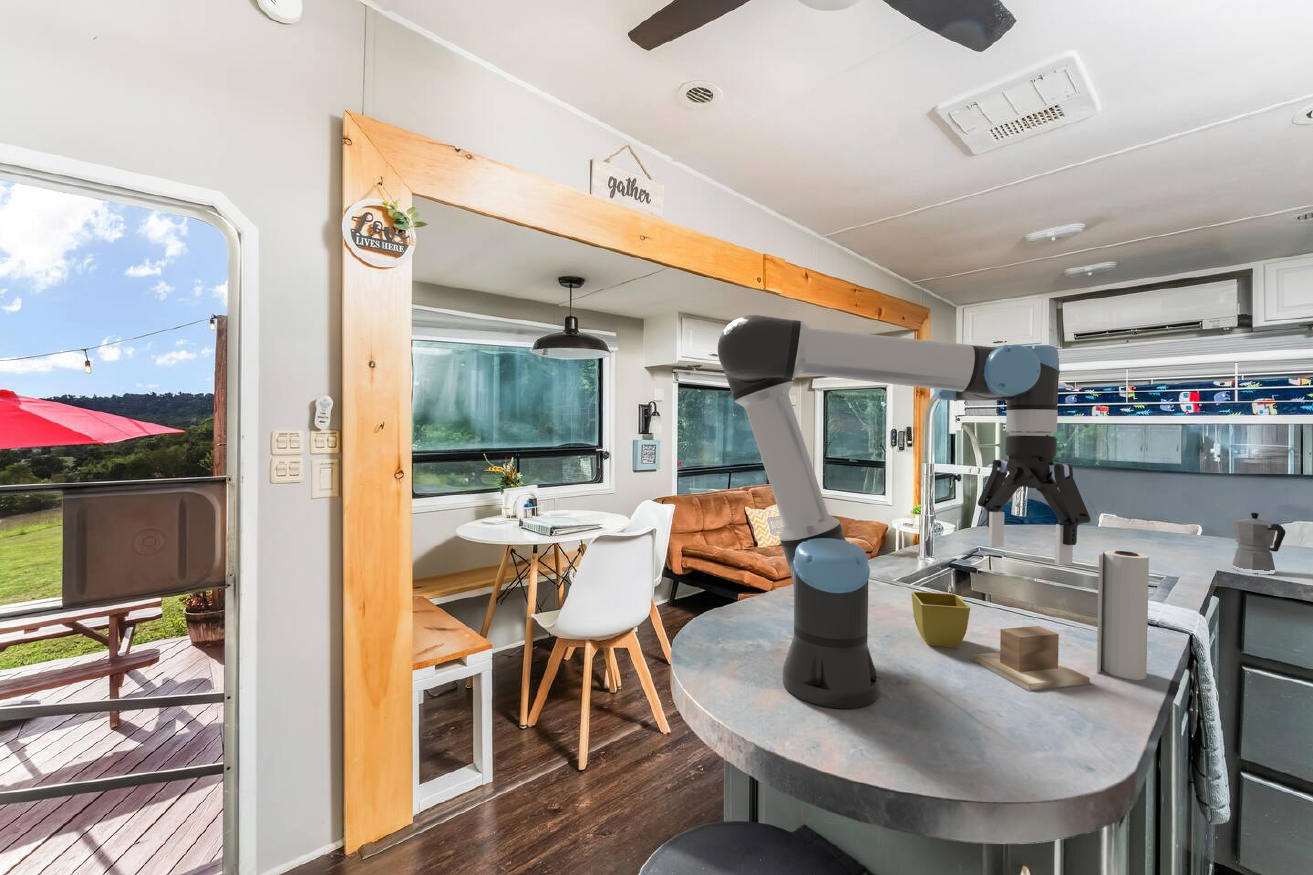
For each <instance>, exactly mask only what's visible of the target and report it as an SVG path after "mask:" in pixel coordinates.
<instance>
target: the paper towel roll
mask: <svg viewBox="0 0 1313 875" xmlns="http://www.w3.org/2000/svg"><path fill="white" fill-rule="evenodd" d="M1149 570H1150V557H1149V555H1147V554H1143V553H1141V552H1140V553H1138V552H1133V551H1127V550H1105V551H1102V552H1101V553H1099V554H1098V584H1097V585H1098V588H1097V589H1098V593H1097V632H1096V634H1097V638H1096V641H1097V642H1096V674H1099V673H1101V672H1102V671H1101V670H1104V672H1105V673H1108V674H1110V675H1112V676H1115V677H1119V678H1122V679H1127V680H1134V681H1143V680H1146V679H1147V675H1148V673H1147V667H1148V666H1147V665H1148V624H1149V623H1148V622H1149V621H1148V619H1149V618H1148V617H1149V613H1148V611H1149V578H1150V577H1149V576H1150V574H1149Z"/></svg>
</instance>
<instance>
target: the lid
mask: <svg viewBox="0 0 1313 875" xmlns="http://www.w3.org/2000/svg"><path fill="white" fill-rule="evenodd" d="M1059 636H1060V635H1059V633H1057V632H1056V631H1052V630H1050V629H1047V628H1045V627H1042V626H1040V625H1034V626H1025V627H1024V626H1022V627H1009V628H1000V642H999V643H1000V644H999V648H1000V649H999V652H998V651H997V652H996V651H995V652H986V653H985V652H984V653H976V654H972V656H973V657H972V659H973V660H974V661H976V662H978V663H980V664H982V665H984V666H985V667H987V668H989V669H991V670H993V671H995V672H997V673H998V674H1000V675H1002V676H1004V677H1006V678H1008V679H1010V680H1011V681H1013V682H1015V683H1017V684H1019V685H1021V686H1023V687H1024V688H1026V689H1028V690H1033V689H1043V688H1052V687H1062V686H1072V685H1081V684H1090V683H1091V682H1090V681H1091V680H1090V678H1091V677H1090V676H1087V675H1084V674H1082V673H1080V672H1079V671H1076V670H1074V669H1072V668H1069V667H1067V666H1065V665H1063V664H1061V663H1059V642H1060V641H1059V640H1060V638H1059Z"/></svg>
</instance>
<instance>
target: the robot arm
mask: <svg viewBox="0 0 1313 875" xmlns="http://www.w3.org/2000/svg"><path fill="white" fill-rule="evenodd" d="M717 356H718V357H717V358H718V360H719V363H720V365H721V366H722V369H723V372H724V375H725V377H726V379H727V382H728V387H729V389H730V393H731V395H732V398H733V400H734V403H735V404H737V405H739V406H741V407H742V408H744V409H745V411H746V412H745V413H746V416H747V418H748V421H749V424H750V428H751V431H752V434H753V436H754V440H755V443H756V446H757V449H758V452H759V455H760V459H761V461H762V464H763V467H764V471H765V474H766V476H767V479H768V482H769V486H770V489H771V492H772V494H773V497H774V501H775V504H776V507H777V510H778V513H779V516H780V519H781V522H782V525H783V527H782V530H781V532H780V534H779V536H778V538H779V542H780V544H781V548H782V551H783V554H784V556H785V560H786V563H787V566H788V567H787V569H788V571H789V573H790V576H791V580H792V585H793V595H794V596H793V597H794V598H793V600H794V601H793V602H794V603H793V610H794V611H793V638H792V641H791V643H790V646H789V649H788V651H787V655H786V656H785V657H786V658H785V661H784V664H783V665H782V685H783V687H784V688H785V690H787V691H788V692H789V693H790V694H792V695H793V696H795V697H796V698H799V699H801V700H802V701H806V702H808V703H811V704H814V705H817V706H822V707H827V708H835V709H856V708H862V707H866V706H869V705H871V704H873V703H874V702H875V701H876V700H878V698H879V692H880V691H879V684H880V683H879V682H880V681H879V676H878V674H877V670H876V668H875V665H874V661H873V658H872V655H871V651H870V648H869V644H868V643H869V642H868V641H869V640H868V639H869V638H868V636H869V635H868V634H869V633H868V631H869V629H868V628H869V627H868V626H869V625H868V624H869V620H868V619H869V578H870V572H871V571H870V569H871V568H870V565H869V557H868V555H867V553H866V551H865V550H864V549H863V548H862V547H861V546H859V545H857V544H855V543H852V542H851V543H850V542H849V541H847V540H846V538H845V534H844V531H843V529H842V525H841V523H840V522H841V521H840V519H837V518H836V517H834V516H832V515H830V514H829V513H828V509H827V507H826V504H825V500H824V497H823V494H822V491H821V488H820V486H819V482H818V479H817V476H816V473H815V471H814V467H813V464H812V462H811V461H812V460H811V458H810V456H809V453H808V449H807V445H806V443H805V440H804V437H803V434H802V431H801V427H800V425H799V422H798V419H797V416H796V413H795V410H794V407H793V404H792V401H791V398H790V395H789V394H790V391H791V389H792V386H793V385H794V381H793V379H795V378H797V377H798V376H800V375H809V376H819V377H827V378H828V377H829V378H838V379H845V380H855V381H861V382H874V383H881V384H889V385H899V386H907V387H915V388H927V389H932V390H933V391H934V394H935V396H936V397H937V398H938V399H939V400H942V401H953V402H958V401H979V402H980V401H1001V402H1002V401H1003V402H1004V401H1005V402H1006V408H1005V409H1006V420H1005V422H1006V423H1005V431H1006V433H1009V435H1007V436H1006V437H1005V449H1004V450H1005V451H1004V452H1005V455H1006V456H1008V459H994V460H993V461H992V466H991V472H990V475H989V476H988V478H987V481H986V483H985V485H984V487H983V489H982V492H981V494H980V496H979V499H978V501H977V505H978V506H979V507H982V508H984V509H985V511H986V526H987V529H988V547H989V548H998V547H999V548H1000V547H1001V548H1002V547H1004V546H1005V545H1004V544H1005V539H1004V538H1005V512H1004V509H1003V508H1004V506H1006V504H1007V502H1008V501H1009V500H1010V499H1011V498H1012V496H1013V495H1014V494H1015V493H1016V492H1017V490H1019V488H1022V487H1023V488H1030V489H1036V490H1037V492H1039V493H1040V494H1041V495H1042V497H1043V498H1044V499H1045V501H1046V503H1048V506H1049V507H1050V509H1051V510H1052V511H1053V512H1054V514H1055V516H1056V517H1057V519H1058V520H1059V522H1058V524H1055V542H1054V543H1055V545H1054V546H1055V547H1054V553H1055V554H1054V564H1055V565H1060V566H1061V565H1062V566H1063V565H1073V555H1074V554H1073V553H1074V552H1073V550H1074V549H1073V548H1074V546H1075V545H1077V540H1078V539H1077V537H1078V526H1079V525H1082V524H1089V523H1090V522H1091V521H1092V520H1091V516H1090V514H1089V512H1088V508H1087V507H1086V505H1085V503H1084V500H1083V498H1082V495H1081V493H1080V491H1079V488H1078V486H1077V483H1076V481H1075V478H1074V473H1073V471H1074V470H1073V465H1072V464H1069V463H1067V464H1066V463H1065V464H1062V463H1058V464H1057V463H1056V464H1055V463H1054V458H1055V457H1056V456H1057V454H1058V453H1057V449H1058V448H1057V446H1058V438H1056V436H1053V434H1055V433H1057V432H1058V407H1059V406H1058V402H1059V380H1060V373H1061V370H1060V358H1059V351H1058V349H1057V347H1054V346H1052V345H1045V344H1035V345H1034V344H1033V345H1022V344H1021V345H1020V344H1004V345H1001V346H997V347H995V346H986V345H975V344H974V345H973V344H972V345H971V344H965V343H955V342H947V341H945V342H944V341H937V340H926V339H917V338H916V339H915V338H908V337H899V336H898V337H897V336H890V335H889V336H887V335H878V334H870V333H869V334H868V333H860V332H851V331H842V330H841V331H840V330H831V329H830V330H829V329H821V328H812V327H808V326H807V325H806V324H805V322H804V321H803V320H797V319H796V320H795V319H789V318H788V319H787V318H780V317H773V316H766V315H758V314H756V315H755V314H753V315H752V314H747V315H744V316H740V317H738V318H736V319H734V320H733V321H731V322H730V323H728V324H727V326H726V327H725V328H724V329H723V330H722V332H721V334H720V336H719V339H718V342H717ZM1053 476H1054V478H1053Z"/></svg>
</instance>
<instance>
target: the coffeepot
mask: <svg viewBox="0 0 1313 875" xmlns="http://www.w3.org/2000/svg"><path fill="white" fill-rule="evenodd" d="M1259 515H1260V514H1259V513H1257V512H1250V516H1251V518H1241V519H1232V525H1233V532H1234V538H1235V542H1237V543H1238V544H1237V545H1238V548H1236V551H1235V552H1234V557H1233V560H1232V565H1234V566H1236V567H1239V568H1243V569H1252V570H1264V571H1270V570H1275V571H1276V568H1275V562H1274V558H1273V553H1272V552H1275V553H1276V552H1279V549H1280V548H1281V545H1282V542H1283V540H1284V538H1285V536H1286V529H1284V527H1283V526H1282V525H1281V524H1278V523H1273V522H1270V521H1266V520H1262V519H1259V518H1258V517H1259ZM1275 536H1276V538H1275ZM1272 546H1273V547H1272ZM1232 565H1231V566H1232Z"/></svg>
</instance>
